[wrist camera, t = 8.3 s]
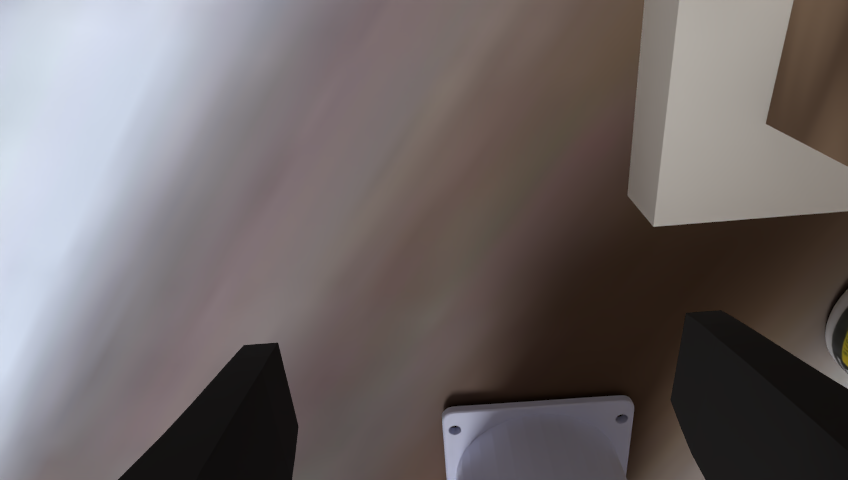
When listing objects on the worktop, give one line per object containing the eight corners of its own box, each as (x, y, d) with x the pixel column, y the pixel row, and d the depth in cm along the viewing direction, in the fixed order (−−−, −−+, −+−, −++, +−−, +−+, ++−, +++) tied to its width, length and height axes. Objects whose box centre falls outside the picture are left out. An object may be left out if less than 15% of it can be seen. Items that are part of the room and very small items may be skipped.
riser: (905, 166, 21) (979, 200, 18) (622, 189, 21) (653, 226, 18) (1016, -177, 16) (1137, -199, 13) (650, -143, 16) (697, -158, 13)
